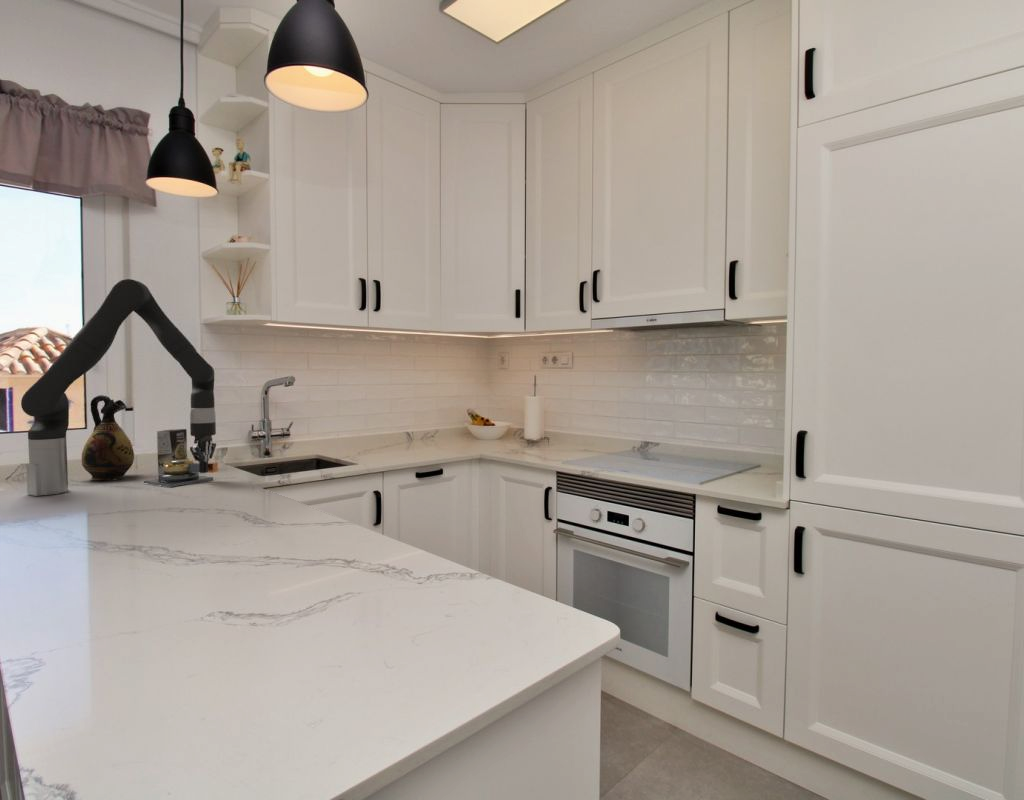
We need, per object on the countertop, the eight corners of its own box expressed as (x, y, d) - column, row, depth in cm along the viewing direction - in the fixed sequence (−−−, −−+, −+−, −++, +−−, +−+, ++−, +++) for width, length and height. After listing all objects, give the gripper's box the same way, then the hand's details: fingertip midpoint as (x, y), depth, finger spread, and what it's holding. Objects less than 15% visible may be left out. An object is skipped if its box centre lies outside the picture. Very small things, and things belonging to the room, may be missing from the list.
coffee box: (174, 473, 212) (172, 430, 211) (157, 473, 212) (155, 431, 211) (188, 469, 221) (187, 428, 220) (172, 469, 221) (171, 428, 220)
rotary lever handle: (156, 474, 190) (155, 462, 189) (174, 470, 199) (174, 458, 199) (207, 474, 189) (207, 462, 189) (223, 470, 198) (222, 458, 198)
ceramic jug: (145, 475, 208) (142, 394, 207) (111, 483, 193) (108, 395, 192) (103, 474, 210) (100, 394, 209) (66, 482, 195) (63, 396, 194)
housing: (169, 487, 184) (169, 465, 184) (143, 483, 191) (142, 462, 191) (213, 480, 197) (212, 459, 197) (187, 476, 204) (186, 456, 204)
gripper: (203, 422, 183) (204, 475, 183) (223, 420, 196) (224, 469, 197) (180, 422, 183) (181, 475, 183) (202, 420, 196) (203, 469, 196)
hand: (203, 472), depth 190 cm, fingers closed
